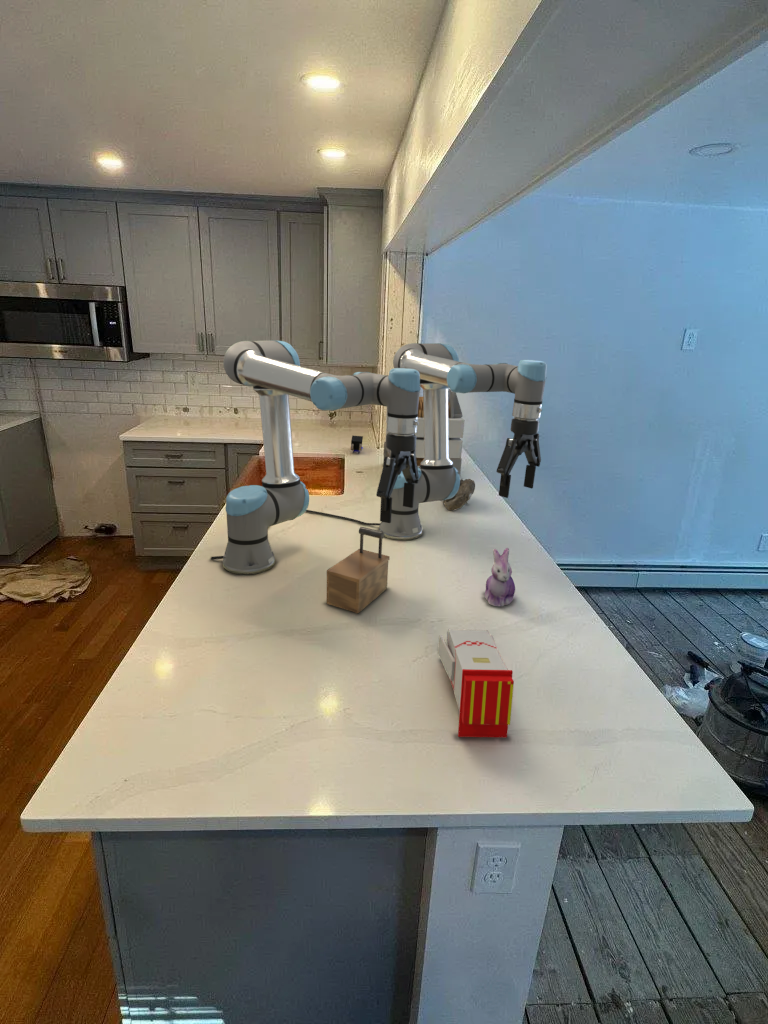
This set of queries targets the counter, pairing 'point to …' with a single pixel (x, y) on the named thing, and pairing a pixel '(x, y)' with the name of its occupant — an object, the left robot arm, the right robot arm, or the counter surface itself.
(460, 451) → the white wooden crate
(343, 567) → the lid
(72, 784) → the counter surface
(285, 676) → the counter surface
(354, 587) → the chest
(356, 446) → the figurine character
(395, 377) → the left robot arm
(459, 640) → the toy
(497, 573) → the figurine
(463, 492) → the fossil
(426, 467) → the right robot arm
